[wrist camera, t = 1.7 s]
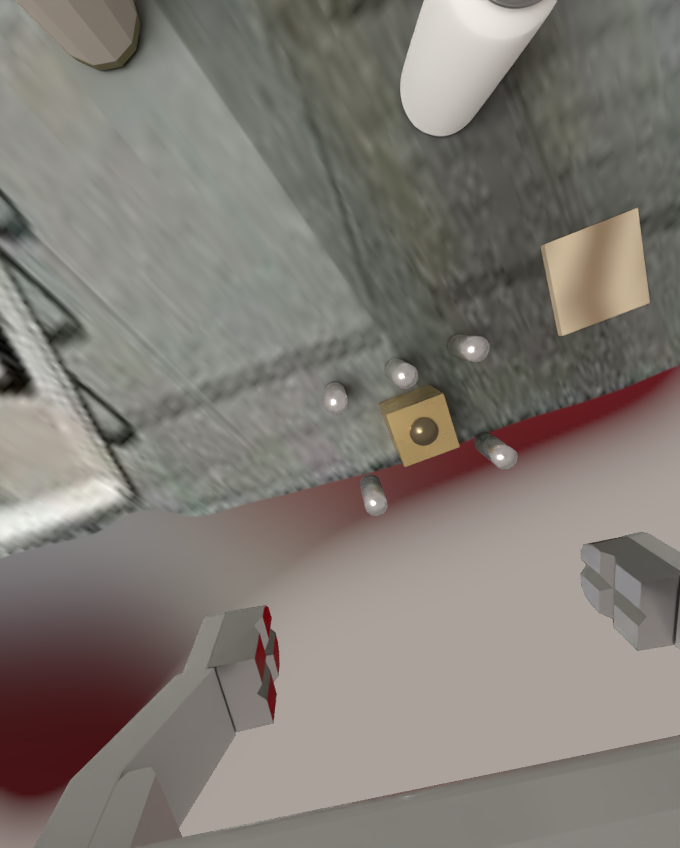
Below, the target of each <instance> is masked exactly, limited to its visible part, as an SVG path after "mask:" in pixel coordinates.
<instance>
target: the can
mask: <svg viewBox="0 0 680 848" xmlns="http://www.w3.org/2000/svg"><path fill="white" fill-rule="evenodd" d="M556 2H557V0H424V2H423V5H422V8H421V11H420V14H419V18H418V21H417V24H416V27H415V31H414V34H413V37H412V40H411V43H410V47H409V50H408V53H407V57H406V60H405V63H404V67H403V71H402V75H401V82H400V93H401V100H402V104H403V107H404V110H405V112H406V114H407V116H408V118H409V119H410V121H411V122H412V124H413V125H414V126H415V127H416V128H418V129H419V130H421V131H422V132H424V133H427V134H430V135H434V136H447V135H451V134H454V133H456V132H458V131H459V130H461V129H462V128H464V127H465V126H466V125H467V124H468V123H469V122H470V121H471V120H472V119H473V117H474V116H475V115H476V114H477V112H478V111H479V110H480V108H481V107H482V106H483V104H484V103H485V102H486V100H487V99H488V98H489V96H490V95H491V93H492V92H493V91H494V89H495V88H496V87H497V85H498V84H499V83H500V81H501V80H502V79H503V77H504V76H505V75H506V73H507V72H508V70H509V69H510V68H511V66H512V65H513V64H514V62H515V61H516V60H517V58H518V57H519V55H520V54H521V53H522V51H523V50H524V49H525V47H526V46H527V45H528V43H529V42H530V40H531V39H532V38H533V36H534V35H535V34H536V32H537V31H538V29H539V28H540V27H541V25H542V24H543V22H544V21H545V20H546V18H547V17H548V15H549V14H550V12H551V11H552V9H553V7H554V6H555V4H556Z"/></svg>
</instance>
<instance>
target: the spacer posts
mask: <svg viewBox="0 0 680 848" xmlns="http://www.w3.org/2000/svg"><path fill="white" fill-rule="evenodd" d="M446 347H447V351H448V353H449V354H450V355H452V356H454V357H458V358H462V359H465V360H469V361H473V362H479V361H482V360H483V359H485V358H486V357H487V355H488V353H489V350H490V346H489V343H488V341H487V340H486V339H485V338H484V337H480V336H471V335H461V334H456V335H453V336H452V337H450V338H449V340H448V342H447V345H446ZM384 370H385V374H386V376H387V377H388V378H389V379H390V380H391V381H392V382H394V383H395V384H396V385H397V386H398V387H400V388H403V389H408V388H411V387H412V386H414V385H415V383H416V382H417V380H418V372H417V370H416V368H415V367H414V366H412V365H410V364H408V363H406V362H405V361H403V360H401V359H398V358H394V359H391V360H389V361H388V362H387V363H386V365H385V369H384ZM324 407H325V409H326V411H327V412H329V413H330V414H333V415H339V414H342V413H343V412H345V411H346V409H347V407H348V398H347V395H346V392H345V389H344V387H343V385H342V384H340V383H338V382H331V383H329V384H327V385H326V387H325V389H324ZM474 445H475V447H476V449H477V450H478V451H479V452H481V453H482V454H483V455H484V456H485V457H487V458H488V459H489V460H490V461H491V462H492V463H494V464H495V465H496V466H497V467H498V468H500V469H504V470H505V469H510V468H512V467H513V466H514V465H515V464H516V462H517V459H518V455H517V453H516V451H515V450H514V449H512V448H511V447H509V446H508V445H506V444H505V443H503V442H502V441H500V440H499V439H497V438H496V437H494V436H493V435H492V434H490V433H481V434H479V435H478V436H477V437H476V439H475V442H474ZM360 486H361V490H362V495H363V500H364V504H365V509H366V511H367V512H368V513H369V514H370V515H373V516H377V515H381V514H383V513H384V512H385V511H386V509H387V506H388V505H387V501H386V498H385V495H384V492H383V489H382V486H381V483H380V481H379V479H378V478H377V477H376V476H375V475H366V476H365V477H364V478H362V480H361V482H360Z"/></svg>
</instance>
